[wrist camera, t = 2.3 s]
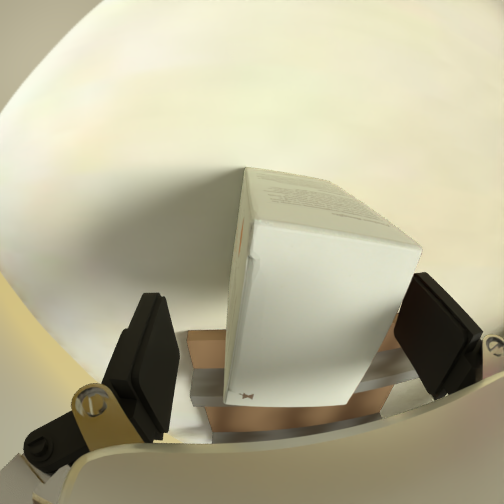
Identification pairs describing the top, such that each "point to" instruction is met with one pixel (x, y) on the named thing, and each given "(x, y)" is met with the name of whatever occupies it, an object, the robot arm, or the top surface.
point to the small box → (309, 291)
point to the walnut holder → (289, 418)
